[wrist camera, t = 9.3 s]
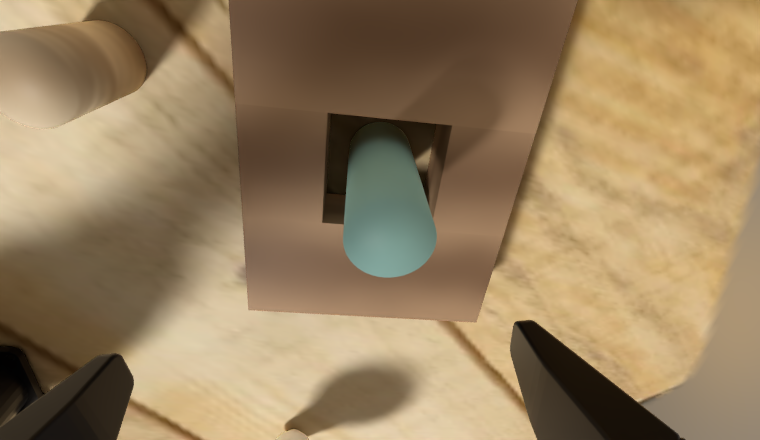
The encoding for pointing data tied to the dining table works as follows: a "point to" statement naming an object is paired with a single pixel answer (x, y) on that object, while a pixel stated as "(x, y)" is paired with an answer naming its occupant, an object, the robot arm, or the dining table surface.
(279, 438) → the lightbulb
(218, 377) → the dining table surface
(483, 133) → the walnut hole block
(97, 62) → the short beech pin
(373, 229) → the long teal pin
